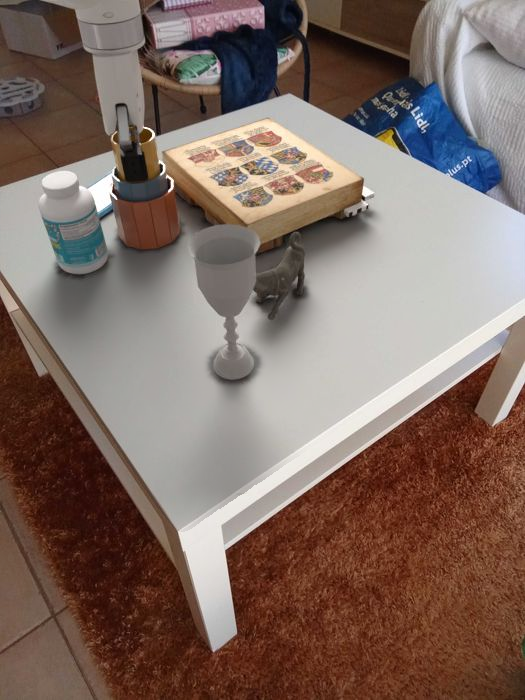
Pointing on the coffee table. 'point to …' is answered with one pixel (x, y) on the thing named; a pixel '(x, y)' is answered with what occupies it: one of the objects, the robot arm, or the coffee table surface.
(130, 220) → the cup stack
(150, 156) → the ochre cup
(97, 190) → the smartphone
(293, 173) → the book
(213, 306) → the chalice
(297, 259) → the dog figurine
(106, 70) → the robot arm
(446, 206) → the coffee table surface
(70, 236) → the pill bottle
